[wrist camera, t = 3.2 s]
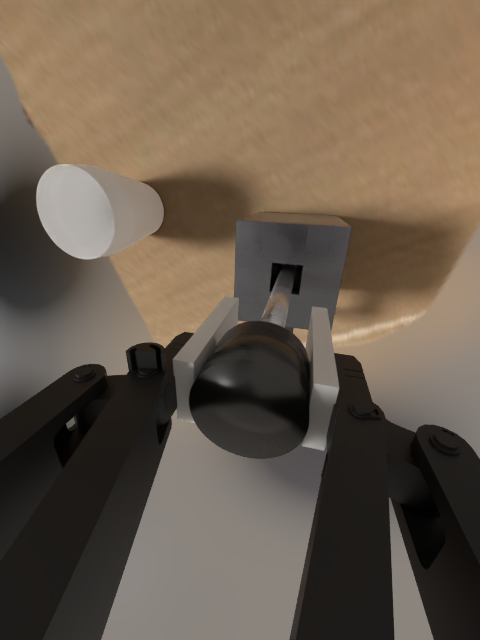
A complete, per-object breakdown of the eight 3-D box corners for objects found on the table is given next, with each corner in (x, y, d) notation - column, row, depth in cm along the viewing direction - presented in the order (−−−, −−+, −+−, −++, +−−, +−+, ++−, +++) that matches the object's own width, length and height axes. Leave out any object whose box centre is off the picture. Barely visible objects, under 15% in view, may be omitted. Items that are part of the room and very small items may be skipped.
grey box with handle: (261, 211, 34) (236, 220, 22) (336, 215, 32) (351, 226, 20) (255, 305, 39) (232, 350, 27) (319, 312, 37) (324, 365, 26)
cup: (181, 192, 35) (125, 191, 24) (161, 254, 39) (105, 276, 29) (120, 158, 35) (38, 142, 24) (106, 224, 39) (31, 234, 29)
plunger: (259, 231, 26) (146, 312, 8) (327, 236, 25) (375, 343, 7) (255, 294, 29) (164, 459, 11) (317, 301, 28) (330, 500, 10)
